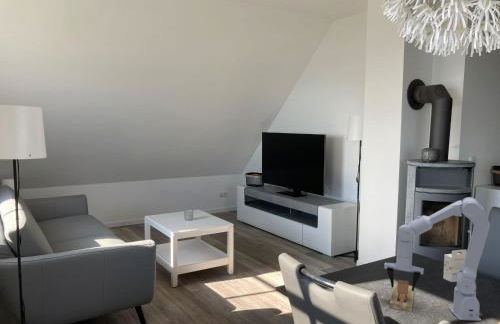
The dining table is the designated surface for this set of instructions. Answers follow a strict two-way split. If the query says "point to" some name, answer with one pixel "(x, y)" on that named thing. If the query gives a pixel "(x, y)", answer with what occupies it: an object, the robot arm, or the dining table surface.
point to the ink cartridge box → (453, 264)
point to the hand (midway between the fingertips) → (402, 288)
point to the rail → (407, 302)
